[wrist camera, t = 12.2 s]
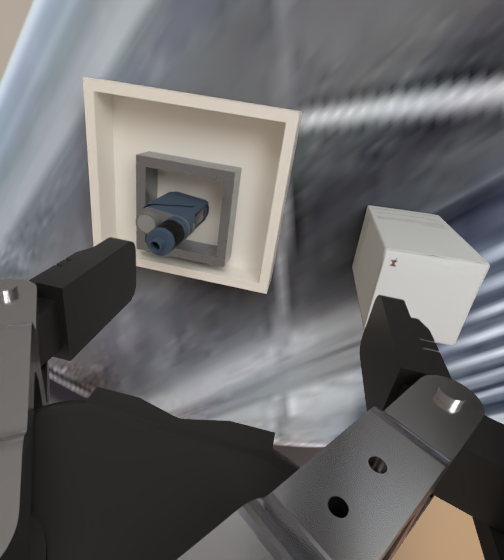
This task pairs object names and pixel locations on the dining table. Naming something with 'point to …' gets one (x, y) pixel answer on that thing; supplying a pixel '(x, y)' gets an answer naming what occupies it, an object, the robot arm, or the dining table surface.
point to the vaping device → (170, 220)
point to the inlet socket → (229, 174)
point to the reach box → (195, 145)
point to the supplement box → (417, 269)
